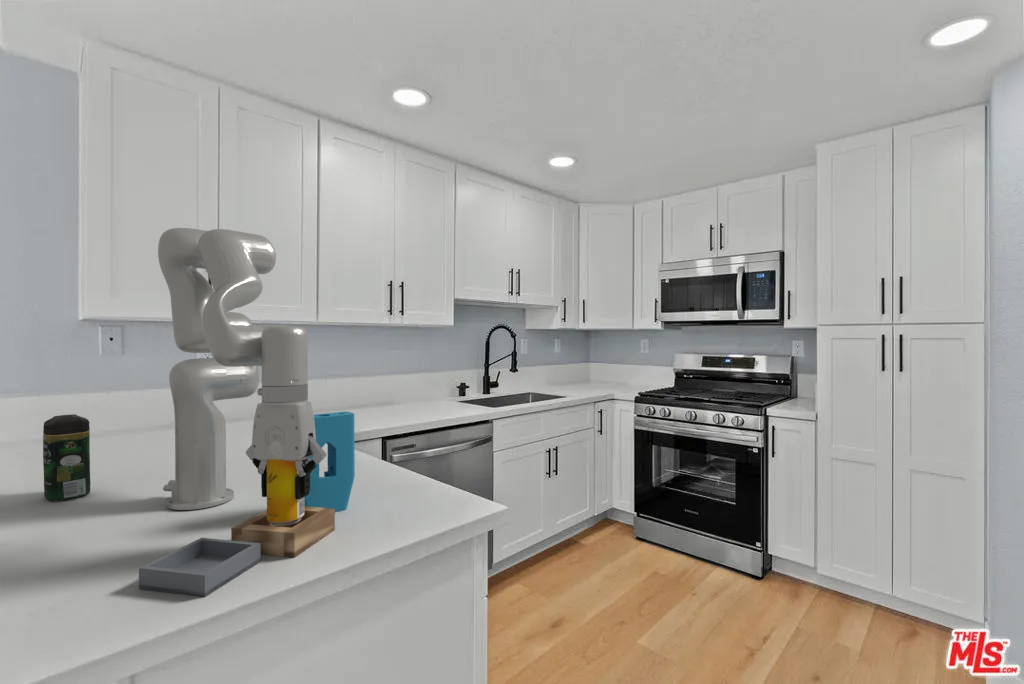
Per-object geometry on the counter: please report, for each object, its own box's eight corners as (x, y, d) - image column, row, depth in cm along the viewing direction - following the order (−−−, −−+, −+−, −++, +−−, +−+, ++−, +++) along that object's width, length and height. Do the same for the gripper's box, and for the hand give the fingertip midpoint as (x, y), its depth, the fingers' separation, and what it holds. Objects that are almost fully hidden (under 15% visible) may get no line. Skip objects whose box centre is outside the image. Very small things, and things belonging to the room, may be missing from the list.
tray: (139, 588, 71) (138, 568, 71) (201, 555, 82) (201, 537, 82) (205, 596, 69) (204, 575, 69) (260, 561, 80) (260, 543, 80)
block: (297, 520, 98) (297, 419, 98) (289, 514, 101) (289, 416, 101) (356, 507, 105) (355, 413, 105) (347, 501, 109) (346, 411, 109)
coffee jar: (41, 495, 113) (41, 415, 113) (87, 488, 119) (86, 411, 119) (45, 505, 107) (44, 419, 107) (93, 496, 113) (92, 415, 112)
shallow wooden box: (231, 551, 84) (231, 527, 84) (278, 525, 95) (278, 504, 95) (294, 557, 81) (294, 533, 81) (334, 529, 93) (334, 508, 93)
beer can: (275, 515, 91) (274, 434, 91) (309, 514, 91) (308, 433, 91) (261, 527, 85) (260, 440, 85) (297, 526, 85) (297, 439, 85)
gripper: (227, 396, 86) (228, 499, 86) (316, 398, 83) (317, 505, 83) (257, 392, 94) (258, 487, 94) (340, 393, 90) (341, 492, 90)
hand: (285, 494), depth 88 cm, fingers closed on beer can, 6 cm apart
